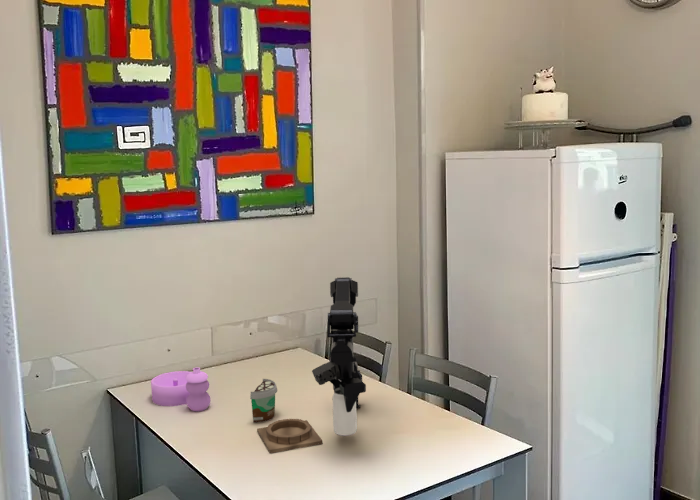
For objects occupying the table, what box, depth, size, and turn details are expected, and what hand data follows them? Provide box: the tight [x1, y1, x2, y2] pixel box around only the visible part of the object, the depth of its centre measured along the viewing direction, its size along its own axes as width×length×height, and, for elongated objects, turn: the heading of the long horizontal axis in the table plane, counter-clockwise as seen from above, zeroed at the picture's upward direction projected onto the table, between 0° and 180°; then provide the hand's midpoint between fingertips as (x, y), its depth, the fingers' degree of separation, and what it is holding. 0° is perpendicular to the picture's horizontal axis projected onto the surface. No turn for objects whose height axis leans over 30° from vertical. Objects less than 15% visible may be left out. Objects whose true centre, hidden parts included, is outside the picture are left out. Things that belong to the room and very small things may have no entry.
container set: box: [150, 366, 211, 412], centre depth 228 cm, size 25×15×13 cm, turn 44°
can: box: [332, 388, 358, 437], centre depth 195 cm, size 6×6×12 cm
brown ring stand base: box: [256, 418, 324, 454], centre depth 199 cm, size 15×15×3 cm
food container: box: [249, 378, 278, 424], centre depth 214 cm, size 12×6×10 cm, turn 168°
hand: (344, 407), depth 195 cm, fingers closed on can, 6 cm apart
